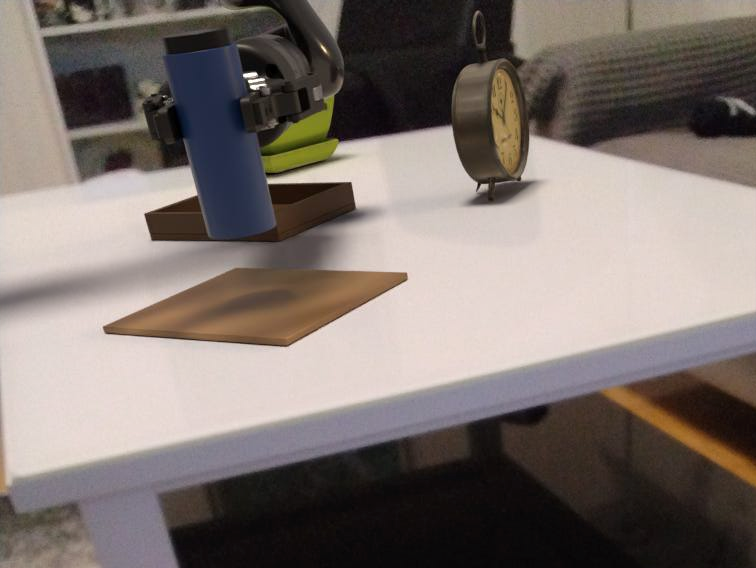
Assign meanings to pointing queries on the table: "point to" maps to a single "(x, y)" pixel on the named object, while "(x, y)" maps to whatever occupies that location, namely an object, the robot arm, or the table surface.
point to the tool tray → (290, 204)
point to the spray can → (218, 133)
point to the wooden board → (258, 305)
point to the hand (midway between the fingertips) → (207, 121)
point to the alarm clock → (490, 119)
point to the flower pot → (301, 143)
